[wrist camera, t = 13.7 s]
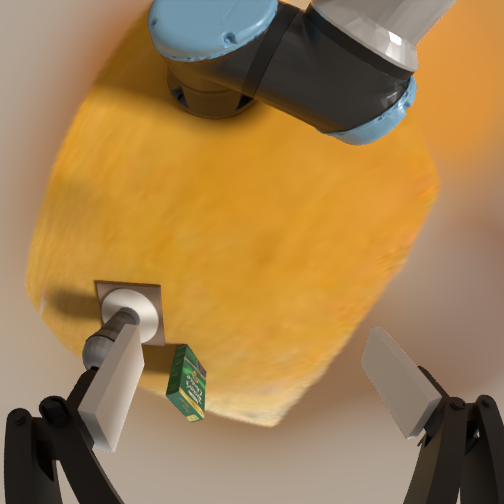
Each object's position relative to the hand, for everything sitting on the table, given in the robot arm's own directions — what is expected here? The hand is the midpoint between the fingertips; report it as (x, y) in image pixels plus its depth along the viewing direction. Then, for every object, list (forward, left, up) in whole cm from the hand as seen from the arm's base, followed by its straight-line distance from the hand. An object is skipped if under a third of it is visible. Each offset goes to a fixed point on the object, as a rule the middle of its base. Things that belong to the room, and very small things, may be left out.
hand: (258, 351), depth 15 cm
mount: (+16, -19, -32) cm, 40 cm away
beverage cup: (+16, -19, -30) cm, 39 cm away
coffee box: (+26, -8, -32) cm, 42 cm away
